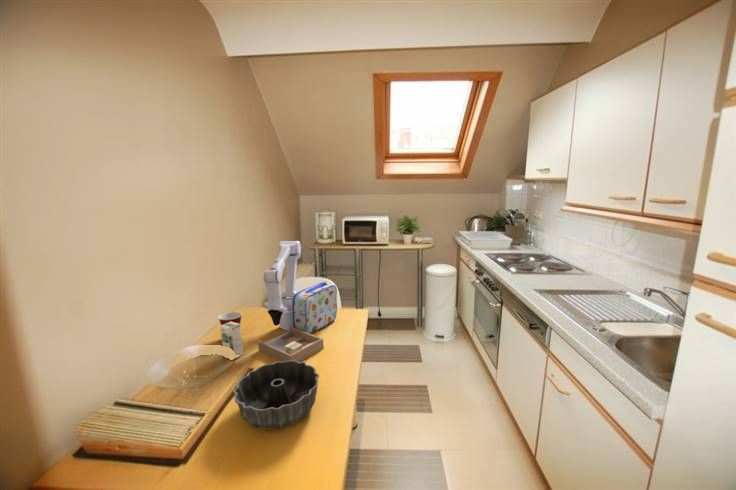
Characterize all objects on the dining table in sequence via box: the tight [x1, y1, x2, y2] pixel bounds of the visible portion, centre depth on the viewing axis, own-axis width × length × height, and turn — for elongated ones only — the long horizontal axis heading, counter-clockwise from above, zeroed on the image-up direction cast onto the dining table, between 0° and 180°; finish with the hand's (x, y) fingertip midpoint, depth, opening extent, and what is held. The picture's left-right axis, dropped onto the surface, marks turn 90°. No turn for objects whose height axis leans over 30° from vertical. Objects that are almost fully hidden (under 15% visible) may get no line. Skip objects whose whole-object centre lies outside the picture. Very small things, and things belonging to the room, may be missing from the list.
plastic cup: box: [217, 311, 243, 327], centre depth 158 cm, size 11×11×12 cm
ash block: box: [285, 341, 302, 355], centre depth 140 cm, size 5×5×3 cm
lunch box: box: [292, 281, 338, 334], centre depth 168 cm, size 28×10×22 cm, turn 150°
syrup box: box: [220, 322, 244, 356], centre depth 141 cm, size 6×6×14 cm
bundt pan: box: [232, 360, 320, 430], centre depth 107 cm, size 26×26×10 cm
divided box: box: [257, 327, 325, 362], centre depth 147 cm, size 22×18×4 cm
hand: (276, 324), depth 151 cm, fingers closed
